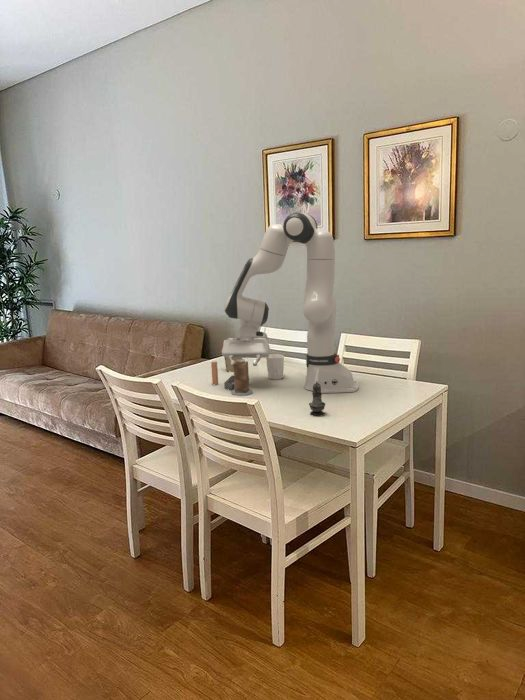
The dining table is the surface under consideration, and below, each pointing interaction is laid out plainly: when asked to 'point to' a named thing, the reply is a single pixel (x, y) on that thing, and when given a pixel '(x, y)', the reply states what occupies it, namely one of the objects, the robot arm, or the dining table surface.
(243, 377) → the block
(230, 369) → the coffee cup
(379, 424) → the dining table surface
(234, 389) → the pad
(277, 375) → the white cup
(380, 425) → the dining table surface
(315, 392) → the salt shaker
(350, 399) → the dining table surface
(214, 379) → the wire course
